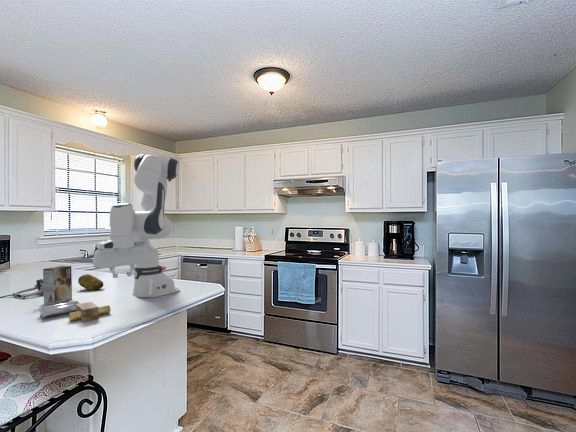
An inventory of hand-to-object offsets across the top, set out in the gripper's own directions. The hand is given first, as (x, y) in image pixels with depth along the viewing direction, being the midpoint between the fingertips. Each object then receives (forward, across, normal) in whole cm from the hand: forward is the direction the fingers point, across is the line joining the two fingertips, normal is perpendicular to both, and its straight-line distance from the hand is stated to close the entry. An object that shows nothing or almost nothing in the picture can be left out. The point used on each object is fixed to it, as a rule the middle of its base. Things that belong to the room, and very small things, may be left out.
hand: (122, 276), depth 126 cm
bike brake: (+15, +22, -67) cm, 72 cm away
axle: (+14, +12, 0) cm, 18 cm away
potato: (+15, -2, -58) cm, 60 cm away
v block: (+15, +18, -12) cm, 27 cm away
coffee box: (+15, +14, -42) cm, 47 cm away
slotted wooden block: (+15, +12, 0) cm, 20 cm away
